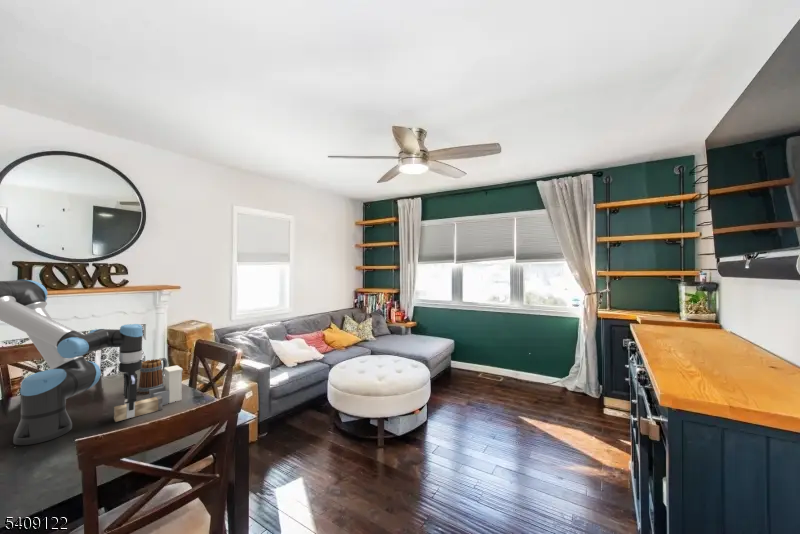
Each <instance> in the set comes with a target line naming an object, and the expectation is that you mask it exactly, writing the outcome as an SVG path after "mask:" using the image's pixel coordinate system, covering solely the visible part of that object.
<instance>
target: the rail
mask: <svg viewBox="0 0 800 534" xmlns="http://www.w3.org/2000/svg"><path fill="white" fill-rule="evenodd" d="M126 406H127V404H121V405H116V406H114V407H113V420H114V422H115V423H117V422H120V421H121V422H122V421H123V420H124V421H125V420H128V419H129V418H126V409H127V407H126ZM162 410H163V405H162V397H161V396H156V397H153V398H149V397H148V398H146V399H141V400H138V401H137V400H136V401H135V416H134V417H131V419H132V418H135V417H139V416H143V415H147V414H150V413H155V412H158V411H162Z"/></svg>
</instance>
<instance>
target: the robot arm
mask: <svg viewBox="0 0 800 534" xmlns="http://www.w3.org/2000/svg"><path fill="white" fill-rule="evenodd" d="M48 293H49V292H48V290H47V288H46V287H45V285H43V284H42V283H40V282H39V281H36V280H33V279H30V280H29V279H16V280H15V279H14V280H0V321H1V322H2V323H5V324H7V325H9V326H12V327H13V328H16V329H18V330H20V331H22V332H24V333H26V335H27V336H28V338H29V339H30V341H31V342H32V344H33V345H34V347H35V348H36V349H37V351H38V352H39V355H41V356H42V358H43V360H44V361H45V362H46V364H47V365H48V367H49V368H48V369H45V370H42V371H38V372H36V373H32V374H30V375H28V376H27V377H25V378H24V379H23V380H22V381H21V383H20V390H19V393H20V421H19V423H18V426H17V427H16V430H15V432H14V434H13V439H12V440H13V441H12V442H13V444H14V445H15V446H16V445H17V446H28V445H29V446H30V445H35V444H39V443H40V444H41V443H44V442H48V441H51V440H54V439H57V438H59V437H62V436H63V435H65V434H67V433H69V432H70V431H71V430H72V429H73V422H72V419H71V417H70V415H69V414H68V411H67V410H66V405H67V404H66V403H67V400H68V399H69V398H71V397H73V396H75V395H78V394H80V393H82V392H86V391H88V390H89V389H90V388H92V387H95V385H97V383H98V382H99V380H100V377H101V375H102V373H101V368H100V366H99V365H98V364H97V363H96V362H94V361H89V360H86V358H85V357H84V355H86V354H90V353H94V352H96V351H99V350H103V349H106V348H119V352H118V353H119V355H118V361H119V364H118V370H119V373H123V394H122V395H123V399H124V401H123V402H124V404H127V406H126V407H127V409H126V418H128V419H130V418H131V417H132V418H135V417H134V416H135V402H137V393H138V392H137V391H138V390H137V389H138V381H139V380H138V374H137V373H136V372H137V371H140V369H141V368H142V362H143V360H142V358H143V354H144V351H143V335H144V334H143V326H142V325H141V324H139V323H133V324H132V323H130V324H129V323H128V324H123V325H121V326H120V327H119V329H110V328H109V329H107V328H106V329H105V328H99V329H91V330H90V331H89V332H87V333H86V334H83V333H81V332H78V331H77V330H74V329H72V328H70V327H68V326H67V325H64V324H63V323H60V322H59V321H56V320H55V319H52V317H51V315H50V314H49V312H48V311H47V310H46V306H47V305H48V303H47V299H48V295H49V294H48ZM124 404H123V405H124ZM132 418H131V419H132Z"/></svg>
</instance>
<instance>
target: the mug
mask: <svg viewBox="0 0 800 534" xmlns="http://www.w3.org/2000/svg"><path fill="white" fill-rule="evenodd" d="M165 367H168V359H167V358H166V357H159V358H157V359H147V360H144V361H143V360H142V368H141V369H140V370H139V372H140V373H139V380H138V381H139V382H138V386H137V389H138V390H137V391H138V392H137V393H139V394H142V395H146V394H149V390H150V389H154V388H158V387H163V386H165V379H163V377H165V370H164V368H165Z"/></svg>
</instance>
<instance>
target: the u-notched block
mask: <svg viewBox="0 0 800 534" xmlns="http://www.w3.org/2000/svg"><path fill="white" fill-rule="evenodd" d="M164 370H165V374H164V386H163V387H158V388H154V389H150V390H149V397H148V399H149V398H153V397H156V396H161V397H162V406H165V405H168V403H169V404H171V403H175V401H176V402H179V401H180V402H181V401H182V399H183V398H182V397H183V395H182V394H183V391H182V389H183V383H182V382H183V379H182V377H183V372H184V371H183V370H184V369H183V368H182V367H180V366H179V365H172V366H167V367H165V368H164Z"/></svg>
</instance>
